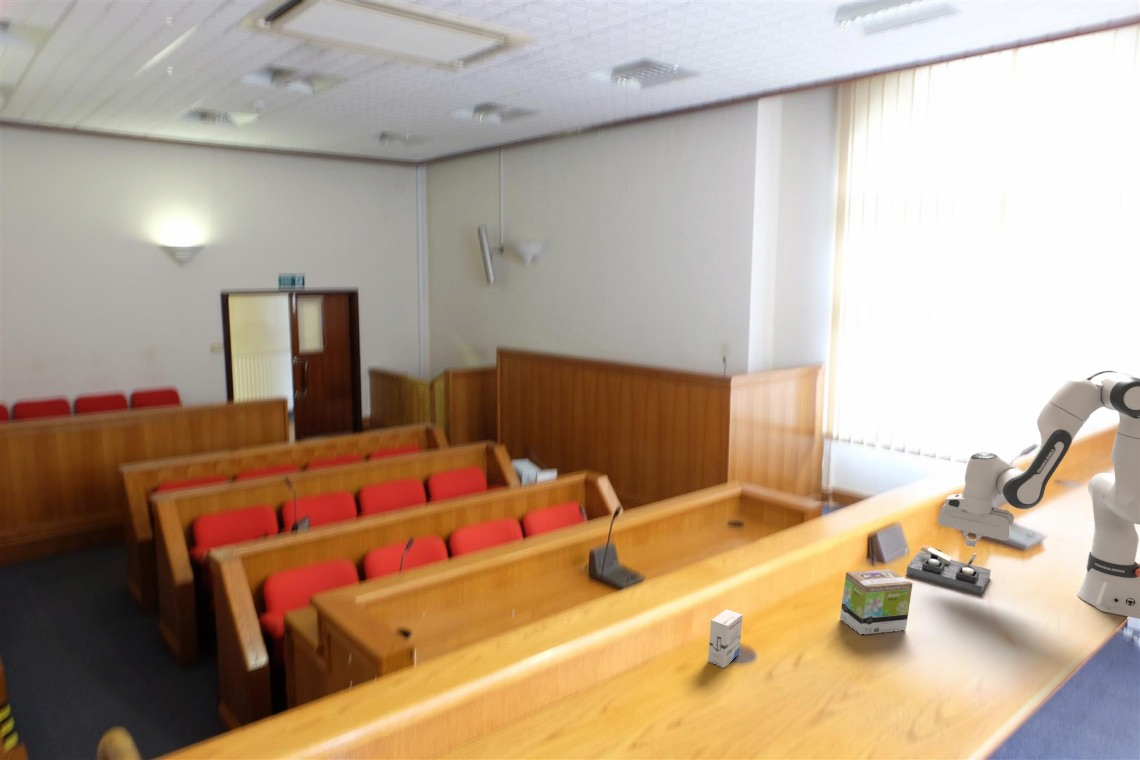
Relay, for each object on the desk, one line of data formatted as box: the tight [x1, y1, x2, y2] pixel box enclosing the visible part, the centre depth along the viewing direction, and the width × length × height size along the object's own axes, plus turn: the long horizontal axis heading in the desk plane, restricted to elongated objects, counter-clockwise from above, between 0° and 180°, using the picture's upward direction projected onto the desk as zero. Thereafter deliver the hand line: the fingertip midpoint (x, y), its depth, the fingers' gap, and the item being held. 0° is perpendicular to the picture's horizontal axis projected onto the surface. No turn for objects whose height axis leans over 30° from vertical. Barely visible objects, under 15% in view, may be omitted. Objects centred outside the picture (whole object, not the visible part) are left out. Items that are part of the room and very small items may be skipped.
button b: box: [928, 559, 939, 566], centre depth 248 cm, size 3×3×1 cm
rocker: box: [920, 543, 952, 564], centre depth 255 cm, size 9×4×2 cm, turn 54°
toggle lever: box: [966, 553, 978, 567], centre depth 249 cm, size 1×1×5 cm
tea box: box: [839, 568, 913, 636], centre depth 215 cm, size 15×10×15 cm
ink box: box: [707, 608, 743, 669], centre depth 195 cm, size 9×5×12 cm, turn 141°
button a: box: [962, 567, 974, 575], centre depth 242 cm, size 3×3×1 cm
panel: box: [906, 548, 992, 596], centre depth 249 cm, size 22×16×6 cm
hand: (970, 545), depth 241 cm, fingers closed
